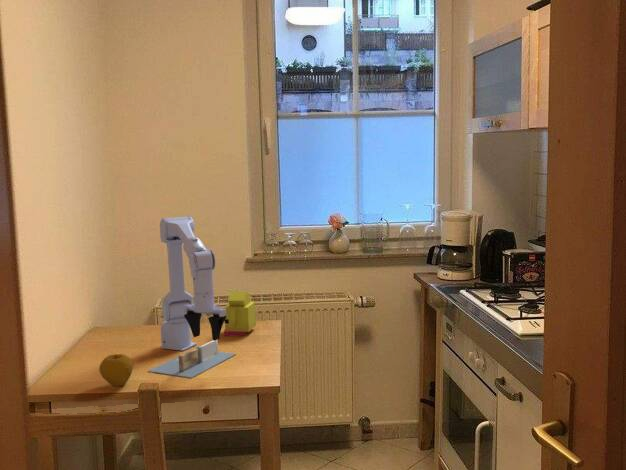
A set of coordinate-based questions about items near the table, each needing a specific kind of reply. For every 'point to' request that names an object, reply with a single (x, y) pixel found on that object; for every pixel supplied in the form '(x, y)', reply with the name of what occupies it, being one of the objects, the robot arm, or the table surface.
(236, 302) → the toy
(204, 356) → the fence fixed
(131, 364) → the apple
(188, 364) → the fence panel
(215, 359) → the mat
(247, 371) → the table surface
